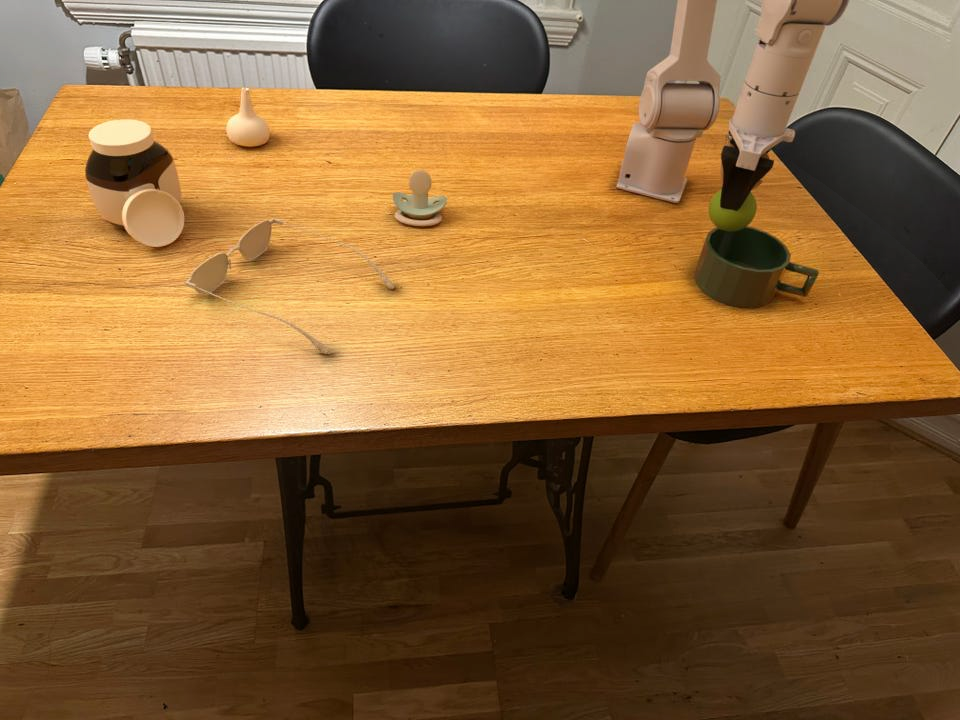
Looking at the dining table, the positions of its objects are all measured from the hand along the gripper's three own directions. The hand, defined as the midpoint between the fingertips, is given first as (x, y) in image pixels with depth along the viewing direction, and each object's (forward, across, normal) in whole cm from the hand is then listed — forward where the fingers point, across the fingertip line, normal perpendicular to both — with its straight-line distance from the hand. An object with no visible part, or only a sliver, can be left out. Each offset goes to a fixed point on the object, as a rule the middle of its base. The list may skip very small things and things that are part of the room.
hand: (731, 198), depth 83 cm
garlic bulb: (+11, 0, +70) cm, 71 cm away
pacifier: (+11, -6, +38) cm, 40 cm away
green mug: (+10, -1, -6) cm, 12 cm away
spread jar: (+11, -25, +67) cm, 72 cm away
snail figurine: (+4, -1, 0) cm, 4 cm away
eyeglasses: (+11, -28, +43) cm, 53 cm away
